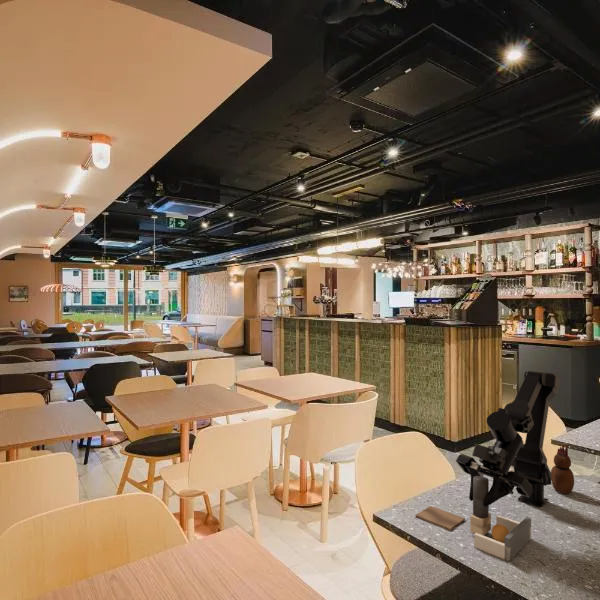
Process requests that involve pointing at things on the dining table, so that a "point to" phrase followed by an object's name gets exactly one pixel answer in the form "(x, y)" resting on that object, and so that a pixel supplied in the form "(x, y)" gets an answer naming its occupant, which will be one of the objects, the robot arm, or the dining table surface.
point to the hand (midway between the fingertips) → (477, 503)
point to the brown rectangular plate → (440, 518)
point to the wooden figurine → (562, 472)
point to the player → (480, 507)
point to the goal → (506, 538)
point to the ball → (499, 533)
